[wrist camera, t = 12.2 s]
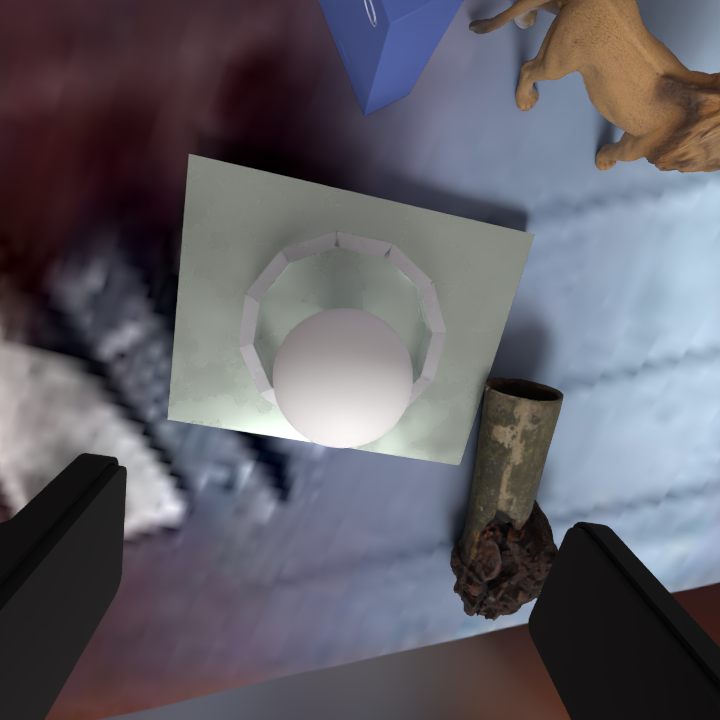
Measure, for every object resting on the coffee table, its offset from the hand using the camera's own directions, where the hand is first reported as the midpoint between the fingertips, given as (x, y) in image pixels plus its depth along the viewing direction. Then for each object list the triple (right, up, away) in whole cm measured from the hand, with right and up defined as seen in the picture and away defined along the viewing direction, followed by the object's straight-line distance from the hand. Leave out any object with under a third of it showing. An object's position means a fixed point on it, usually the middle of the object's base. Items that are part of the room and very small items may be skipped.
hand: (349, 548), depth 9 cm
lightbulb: (-1, +6, +17) cm, 18 cm away
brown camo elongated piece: (+11, -6, +23) cm, 26 cm away
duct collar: (-1, +6, +18) cm, 19 cm away
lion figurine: (+13, +19, +15) cm, 28 cm away
